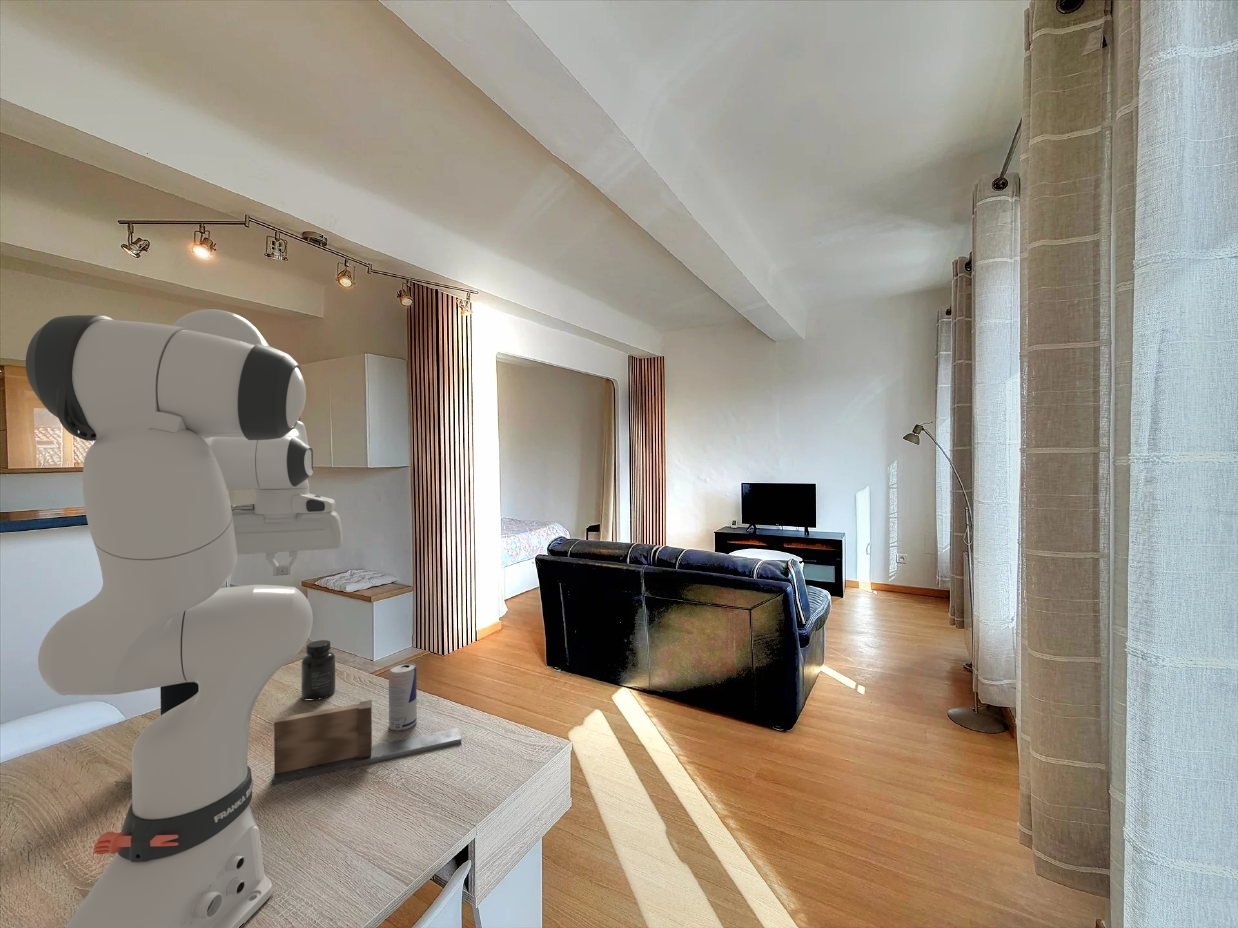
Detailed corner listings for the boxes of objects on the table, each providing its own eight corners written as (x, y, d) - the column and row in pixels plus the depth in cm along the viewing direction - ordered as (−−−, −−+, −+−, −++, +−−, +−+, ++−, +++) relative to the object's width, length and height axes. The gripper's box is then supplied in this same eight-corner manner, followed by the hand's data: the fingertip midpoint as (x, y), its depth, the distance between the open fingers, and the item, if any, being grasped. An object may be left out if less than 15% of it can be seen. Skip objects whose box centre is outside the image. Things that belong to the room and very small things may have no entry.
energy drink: (421, 718, 107) (421, 662, 107) (408, 732, 102) (408, 673, 101) (397, 717, 107) (397, 661, 107) (383, 730, 102) (383, 672, 102)
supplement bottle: (302, 691, 119) (302, 641, 119) (335, 685, 122) (335, 636, 122) (300, 703, 113) (300, 651, 113) (335, 697, 116) (334, 645, 116)
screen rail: (458, 731, 102) (458, 727, 102) (461, 743, 98) (461, 738, 98) (277, 770, 89) (277, 765, 89) (271, 784, 85) (271, 779, 85)
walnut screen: (371, 746, 95) (371, 699, 94) (371, 755, 92) (370, 707, 92) (277, 766, 88) (277, 716, 88) (273, 776, 86) (273, 724, 86)
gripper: (209, 506, 89) (210, 584, 89) (340, 502, 97) (340, 573, 98) (220, 503, 95) (221, 576, 95) (343, 500, 103) (343, 566, 103)
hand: (283, 574), depth 96 cm, fingers closed
